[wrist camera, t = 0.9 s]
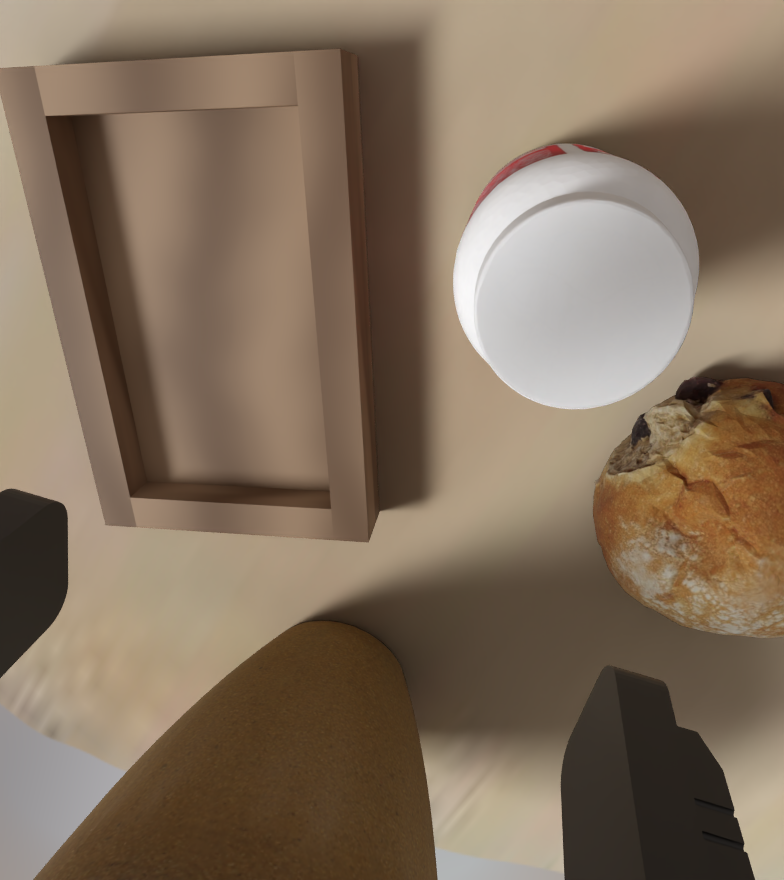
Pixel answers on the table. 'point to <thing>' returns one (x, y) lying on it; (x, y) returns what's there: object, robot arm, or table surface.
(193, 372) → the shallow rectangular tray
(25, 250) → the table surface
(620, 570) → the bread roll
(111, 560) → the table surface
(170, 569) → the table surface
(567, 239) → the pill bottle
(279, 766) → the plant pot
